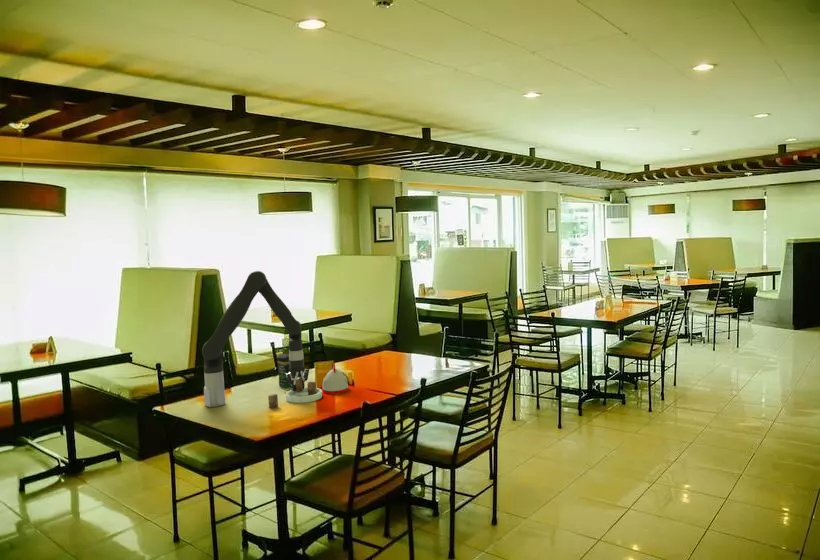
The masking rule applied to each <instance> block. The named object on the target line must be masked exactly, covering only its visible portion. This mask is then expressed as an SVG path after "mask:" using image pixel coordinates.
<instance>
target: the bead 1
mask: <svg viewBox="0 0 820 560" xmlns="http://www.w3.org/2000/svg"><path fill="white" fill-rule="evenodd" d="M295 385H296V392H301V391H303V386H302V379H299V378H297V380H296V384H295Z"/></svg>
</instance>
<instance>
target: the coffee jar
mask: <svg viewBox="0 0 820 560" xmlns="http://www.w3.org/2000/svg"><path fill="white" fill-rule="evenodd" d="M277 366H278V386H279V387H281V388H285V389H289V388H291V389H292V385H291V384H288V381H287V379H286V376H285V374H286V373H287V374H288V373H289V372H290V364H289V353H280V354H278V356H277ZM291 377H292V375H291Z"/></svg>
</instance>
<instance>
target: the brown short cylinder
mask: <svg viewBox="0 0 820 560" xmlns="http://www.w3.org/2000/svg"><path fill="white" fill-rule="evenodd" d="M267 397H268V409H277V408H279V399H278V394H277V393H273V394H268V396H267Z"/></svg>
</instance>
